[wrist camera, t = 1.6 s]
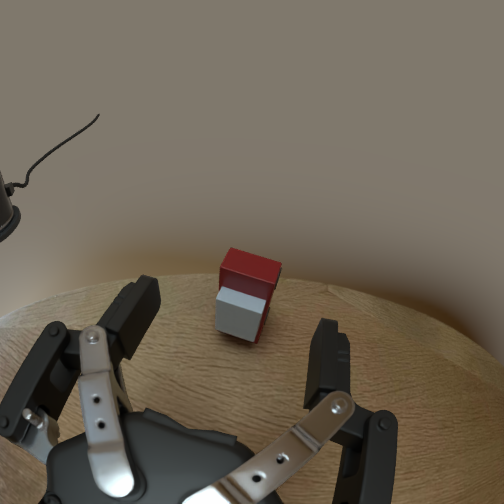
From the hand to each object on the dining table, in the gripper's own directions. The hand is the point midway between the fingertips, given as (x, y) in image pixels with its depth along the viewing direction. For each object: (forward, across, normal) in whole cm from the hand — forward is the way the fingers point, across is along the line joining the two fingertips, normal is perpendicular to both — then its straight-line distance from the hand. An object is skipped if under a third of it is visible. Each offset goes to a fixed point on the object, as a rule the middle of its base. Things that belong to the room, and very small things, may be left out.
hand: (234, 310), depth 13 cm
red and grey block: (+10, +1, +14) cm, 17 cm away
